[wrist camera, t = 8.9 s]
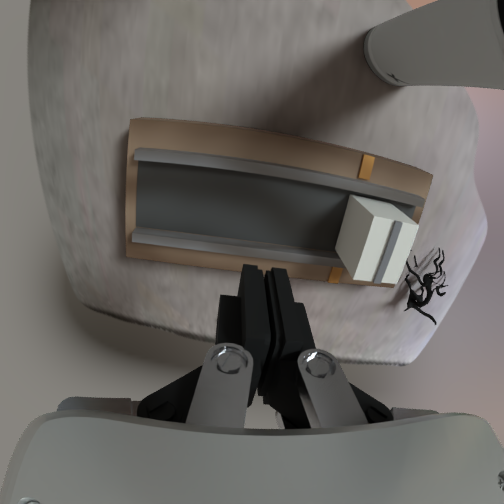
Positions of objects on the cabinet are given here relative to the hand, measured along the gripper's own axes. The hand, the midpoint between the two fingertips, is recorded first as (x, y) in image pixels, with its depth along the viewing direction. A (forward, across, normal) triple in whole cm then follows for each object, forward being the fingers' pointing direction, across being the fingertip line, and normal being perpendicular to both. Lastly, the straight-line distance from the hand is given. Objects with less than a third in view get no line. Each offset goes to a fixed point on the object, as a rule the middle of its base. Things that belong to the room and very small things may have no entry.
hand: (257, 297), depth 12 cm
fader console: (+16, -3, +1) cm, 17 cm away
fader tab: (+13, -10, +1) cm, 17 cm away
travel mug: (+17, -11, -15) cm, 25 cm away
